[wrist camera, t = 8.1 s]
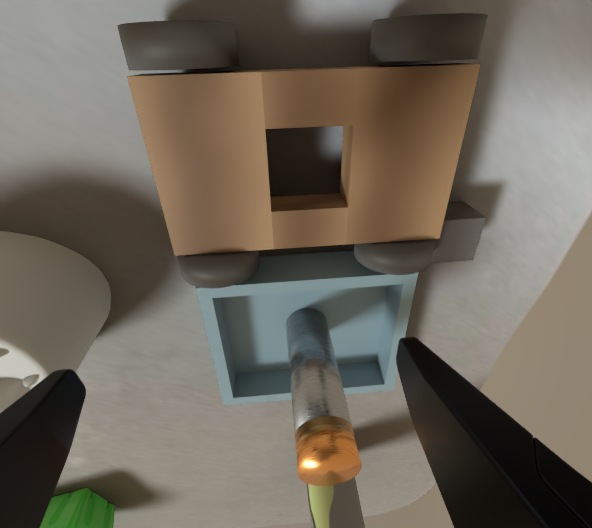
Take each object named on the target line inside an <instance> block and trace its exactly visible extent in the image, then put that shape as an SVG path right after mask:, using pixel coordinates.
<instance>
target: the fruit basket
mask: <svg viewBox="0 0 592 528" xmlns="http://www.w3.org/2000/svg"><path fill="white" fill-rule="evenodd" d="M114 508H115V506H114V505H113V504H110V503H108V502H107V500H105V499H104V498H102V497H101V496H99V495H97V494H95V493H93V492H91V490H90V489H88V488H84V489H80V490H76V491H74V492H72V493H65V494H62V495H58V496H55V497H53V498H51V500H50V503H49V506H48V508H47V511H46V513H45V516H44V518H43V521H42V523H41V526H40V528H113V523H114Z"/></svg>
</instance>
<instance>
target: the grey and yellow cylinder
mask: <svg viewBox="0 0 592 528" xmlns="http://www.w3.org/2000/svg"><path fill="white" fill-rule="evenodd" d="M307 492H308V501H309V509H310V518H311V527H312V528H365V525H364V521H363V516H362V511H361V506H360V501H359V496H358V491H357V486H356V481H355V477H354V478H352V479H350V480H348V481H346V482H344V483H341V484H337V485H331V486H314V485H310V484H307Z"/></svg>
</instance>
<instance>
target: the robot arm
mask: <svg viewBox="0 0 592 528" xmlns="http://www.w3.org/2000/svg"><path fill="white" fill-rule="evenodd" d="M396 364H397V368H398V372H399V375H400V379H401V383H402V386H403V390H404V394H405V397H406V401H407V405H408V408H409V412H410V415H411V418H412V421H413V424H414V427H415V429H416V432H417V434H418V437H419V439H420V442H421V444H422V447H423V449H424V452H425V454H426V457H427V460H428V462H429V465H430V467H431V470H432V472H433V475H434V477H435V480H436V482H437V485H438V487H439V490H440V492H441V495H442V498H443V500H444V502H445V505H446V508H447V510H448V513H449V515H450V518H451V520H452V523H453V525H454V528H592V482H591V481H589V480H588V479H587V478H585V477H584V476H582V475H581V474H580V473H579V472H577V471H576V470H575V469H574V468H572V467H571V466H570V465H569V464H567V463H566V462H565V461H563V460H562V459H561V458H560V457H559V456H557V455H556V454H555V453H554V452H552V451H551V450H550V449H549V448H548V447H546V446H545V445H544V444H543V443H542V442H540V441H539V440H538V439H537V438H533V436H532V434H531V433H529V432H528V431H527V430H526V429H525V428H524V427H522V426H521V425H520V424H519V423H518V422H516V421H515V420H514V419H513V418H512V417H510V416H509V415H508V414H507V413H506V412H504V411H503V410H502V409H501V408H500V407H498V406H497V405H496V404H495V403H494V402H492V401H491V400H490V399H489V398H488V397H486V396H485V395H484V394H483V393H482V392H480V391H479V390H478V389H477V388H476V387H474V386H473V385H472V384H471V383H470V382H468V381H467V380H466V379H465V378H464V377H462V376H461V375H460V374H459V373H458V372H456V371H455V370H454V369H453V368H452V367H450V366H449V365H448V364H447V363H446V362H445V361H443V360H442V359H441V358H440V357H439V356H437V355H436V354H435V353H434V352H433V351H431V350H430V349H429V348H428V347H427V346H425V345H424V344H423V343H422V342H421V341H419V340H418V339H417V338H415V337H405V338H400V340H399V343H398V349H397V355H396ZM85 395H86V389H85V386H84V384H83V383H82V381H81V380H80V378H79V377H78V375H77V374H76V372H75V371H74V370H72V369H63V370H56V371H54V372H52V373H51V374H50V375H48V376H47V377H46V378H44V379H43V380H42V381H41V382H39V383H38V384H37V385H36V386H34V387H33V388H32V389H30V390H29V391H28V392H27V393H25V394H24V395H23V396H22V397H20V398H19V399H18V400H16V401H15V402H14V403H13V404H11V405H10V406H9V407H8V408H6V409H5V410H4V411H2V412H1V413H0V528H40V526H41V523H42V521H43V518H44V516H45V513H46V511H47V508H48V506H49V503H50V500H51V498H52V495H53V493H54V490H55V488H56V485H57V483H58V480H59V478H60V475H61V472H62V470H63V467H64V465H65V462H66V460H67V457H68V454H69V451H70V448H71V445H72V442H73V438H74V435H75V431H76V428H77V424H78V420H79V417H80V413H81V410H82V406H83V403H84V399H85Z"/></svg>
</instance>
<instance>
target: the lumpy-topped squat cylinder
mask: <svg viewBox="0 0 592 528" xmlns="http://www.w3.org/2000/svg"><path fill="white" fill-rule="evenodd" d="M110 307H111V291H110V287H109V284H108V281H107V279H106V278H105V276H104V275H103V273H102V272H101V271H100V270H99V269H98V268H97V267H96V266H95V265H94V264H93V263H92V262H91V261H90V260H88V259H87V258H85V257H84V256H82V255H80V254H79V253H77V252H75V251H73V250H71V249H69V248H66V247H64V246H62V245H59V244H57V243H54V242H52V241H49V240H46V239H43V238H40V237H36V236H31V235H26V234H20V233H13V232H6V231H0V413H1V412H2V411H4V410H5V409H6V408H8V407H9V406H10V405H11V404H13V403H14V402H15V401H16V400H18V399H19V398H20V397H22V396H23V395H24V394H25V393H27V392H28V391H29V390H30V389H32V388H33V387H34V386H36V385H37V384H38V383H39V382H41V381H42V380H43V379H44V378H46V377H47V376H48V375H50V374H51V373H52V372H54V371H56V370H63V369H72V370H74V371H75V372H76V370H77V369H78V367H79V365H80V364H81V362H82V360H83V359H84V357H85V355H86V353H87V352H88V350H89V348H90V347H91V345H92V343H93V342H94V340H95V338H96V337H97V335H98V333H99V331H100V330H101V328H102V326H103V325H104V323H105V321H106V320H107V318H108V315H109V312H110Z"/></svg>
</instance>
